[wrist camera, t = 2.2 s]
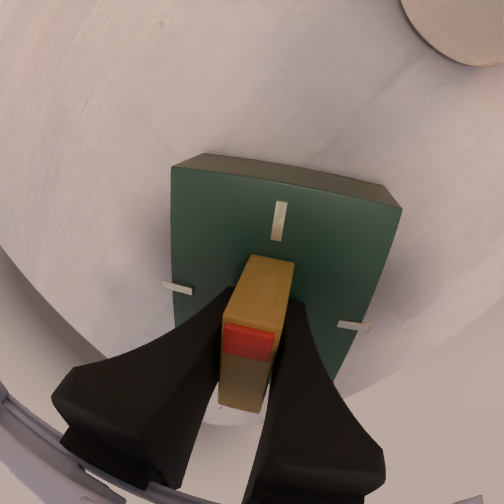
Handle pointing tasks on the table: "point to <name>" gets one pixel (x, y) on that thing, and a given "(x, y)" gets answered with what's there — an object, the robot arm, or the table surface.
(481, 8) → the drinking glass
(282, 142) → the table surface
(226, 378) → the yellow block
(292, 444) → the robot arm
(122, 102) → the table surface
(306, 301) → the knob panel
